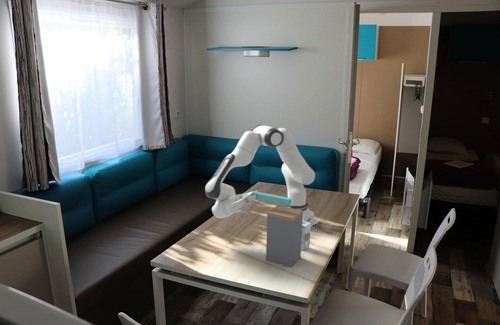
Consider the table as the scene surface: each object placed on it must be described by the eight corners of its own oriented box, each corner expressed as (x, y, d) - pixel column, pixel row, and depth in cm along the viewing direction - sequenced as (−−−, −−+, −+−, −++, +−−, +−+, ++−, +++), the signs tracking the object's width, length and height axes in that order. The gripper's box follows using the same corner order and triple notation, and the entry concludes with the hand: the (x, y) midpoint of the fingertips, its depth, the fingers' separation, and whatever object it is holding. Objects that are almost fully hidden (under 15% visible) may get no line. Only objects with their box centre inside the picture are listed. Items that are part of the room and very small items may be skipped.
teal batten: (251, 198, 218) (251, 192, 218) (253, 196, 221) (254, 190, 220) (288, 205, 209) (289, 200, 208) (291, 204, 211) (291, 198, 211)
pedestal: (266, 260, 217) (267, 212, 210) (276, 251, 227) (277, 205, 221) (291, 267, 210) (293, 218, 204) (300, 257, 221) (302, 210, 214)
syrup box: (300, 244, 236) (301, 220, 232) (309, 247, 232) (311, 222, 228) (294, 248, 231) (296, 223, 228) (304, 251, 228) (305, 226, 224)
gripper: (224, 203, 216) (245, 194, 209) (244, 192, 233) (264, 184, 226) (230, 215, 216) (251, 206, 209) (249, 203, 233) (269, 194, 226)
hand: (258, 194), depth 218 cm, fingers closed on teal batten, 3 cm apart
